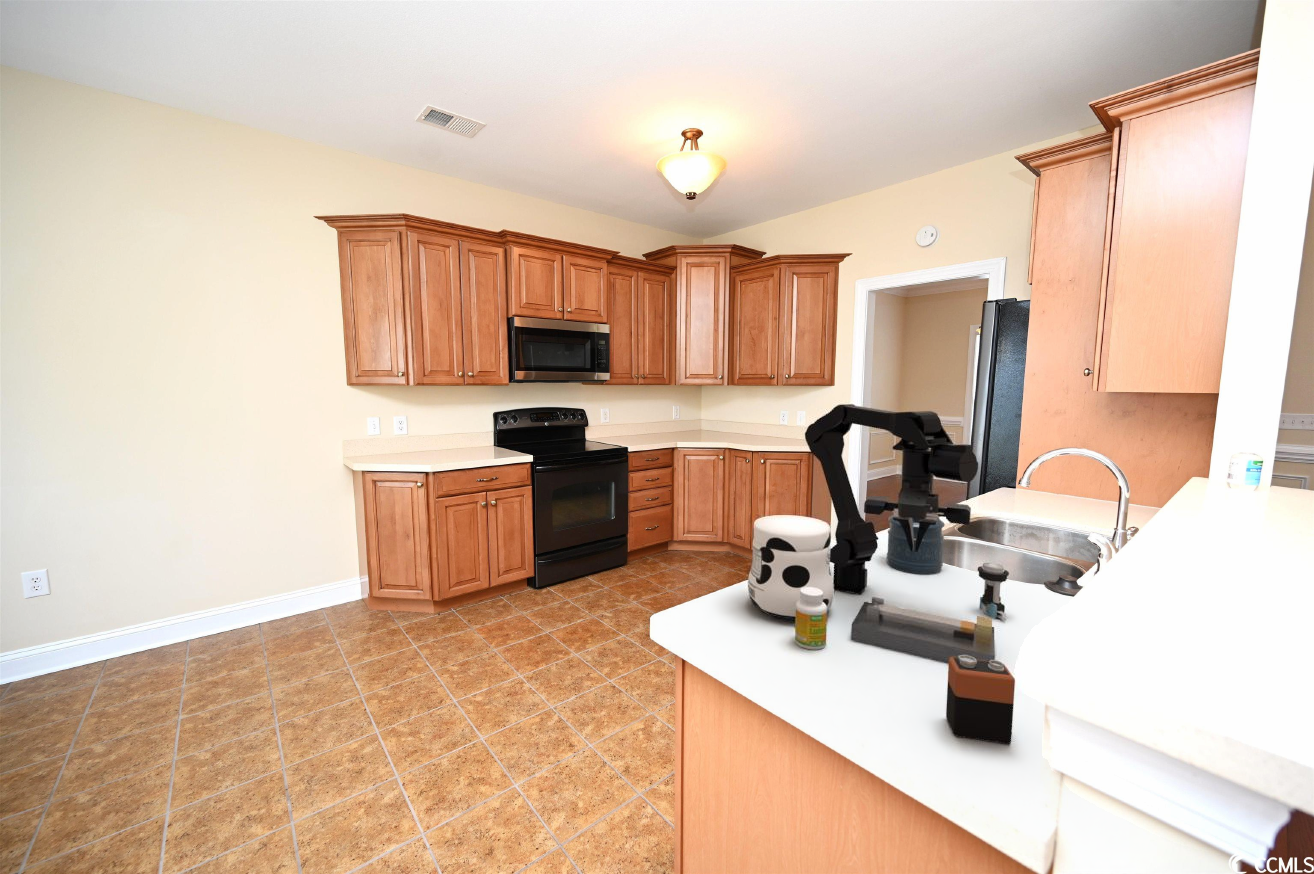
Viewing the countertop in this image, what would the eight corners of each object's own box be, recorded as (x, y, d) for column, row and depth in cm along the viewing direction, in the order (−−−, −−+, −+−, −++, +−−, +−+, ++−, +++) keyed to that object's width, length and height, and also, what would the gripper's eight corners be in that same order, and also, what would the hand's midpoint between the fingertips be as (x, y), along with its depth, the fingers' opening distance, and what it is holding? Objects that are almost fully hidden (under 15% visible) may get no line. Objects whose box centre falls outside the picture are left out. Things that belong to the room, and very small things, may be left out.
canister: (886, 555, 145) (888, 492, 143) (940, 561, 140) (943, 495, 138) (886, 571, 133) (888, 501, 132) (945, 578, 128) (948, 506, 126)
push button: (1017, 622, 104) (1020, 572, 103) (990, 622, 104) (992, 572, 103) (995, 607, 111) (997, 561, 110) (969, 608, 111) (972, 561, 110)
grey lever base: (851, 640, 97) (852, 608, 96) (864, 615, 107) (865, 587, 107) (993, 673, 85) (995, 637, 85) (993, 643, 96) (995, 610, 95)
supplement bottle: (809, 653, 92) (811, 599, 91) (788, 640, 97) (789, 588, 96) (832, 646, 95) (834, 593, 94) (811, 633, 99) (812, 583, 99)
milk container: (847, 606, 112) (849, 522, 110) (809, 635, 99) (811, 540, 97) (773, 586, 123) (775, 510, 122) (731, 609, 110) (732, 524, 109)
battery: (944, 717, 74) (948, 649, 73) (1000, 725, 72) (1004, 655, 71) (953, 737, 70) (957, 664, 69) (1012, 746, 68) (1016, 672, 67)
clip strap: (870, 613, 99) (870, 607, 99) (873, 607, 102) (873, 601, 102) (973, 635, 90) (974, 628, 90) (974, 628, 93) (974, 621, 93)
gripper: (859, 476, 103) (857, 554, 105) (971, 485, 94) (966, 571, 95) (870, 468, 113) (868, 540, 114) (972, 476, 103) (968, 554, 104)
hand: (914, 551), depth 107 cm, fingers closed
